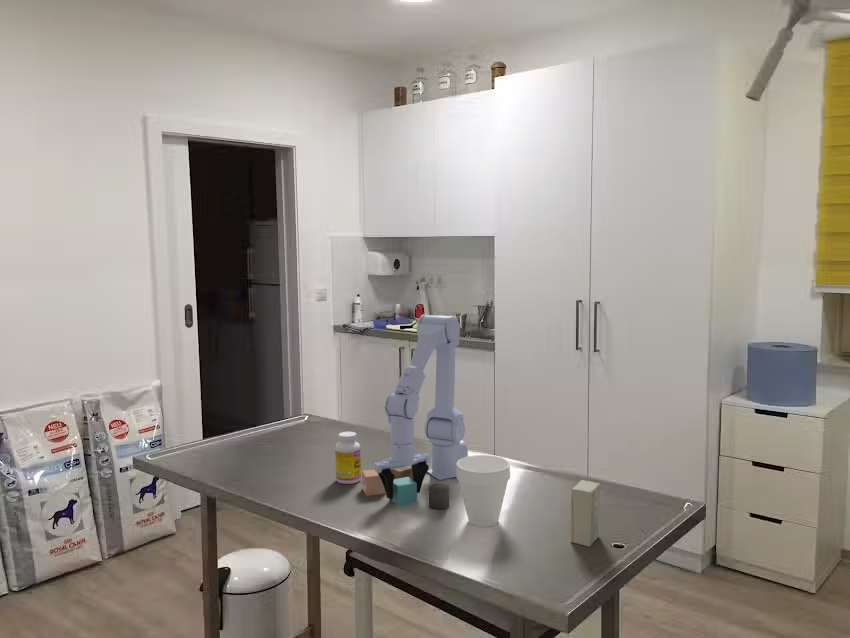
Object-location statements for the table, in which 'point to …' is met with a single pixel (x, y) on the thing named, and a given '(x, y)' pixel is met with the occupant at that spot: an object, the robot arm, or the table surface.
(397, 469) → the walnut cube
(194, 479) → the table surface
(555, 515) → the table surface
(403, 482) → the teal cube
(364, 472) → the terracotta cube
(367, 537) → the table surface
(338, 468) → the supplement bottle
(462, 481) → the cup
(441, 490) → the dark grey cylinder
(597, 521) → the skincare box
